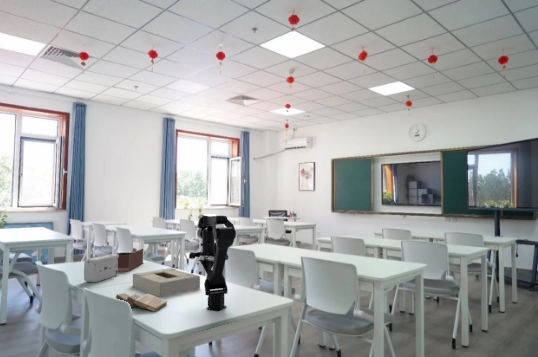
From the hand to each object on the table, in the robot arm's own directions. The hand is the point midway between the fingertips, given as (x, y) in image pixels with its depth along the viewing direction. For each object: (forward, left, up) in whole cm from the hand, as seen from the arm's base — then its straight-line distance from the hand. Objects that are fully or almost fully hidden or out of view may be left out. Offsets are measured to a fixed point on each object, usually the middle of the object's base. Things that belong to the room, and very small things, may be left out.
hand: (208, 274), depth 170 cm
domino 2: (+17, +20, -11) cm, 29 cm away
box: (+36, -12, -13) cm, 40 cm away
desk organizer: (+98, -44, -12) cm, 108 cm away
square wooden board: (+12, +18, -11) cm, 24 cm away
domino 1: (+23, +21, -11) cm, 33 cm away
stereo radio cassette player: (+85, -11, -12) cm, 87 cm away
